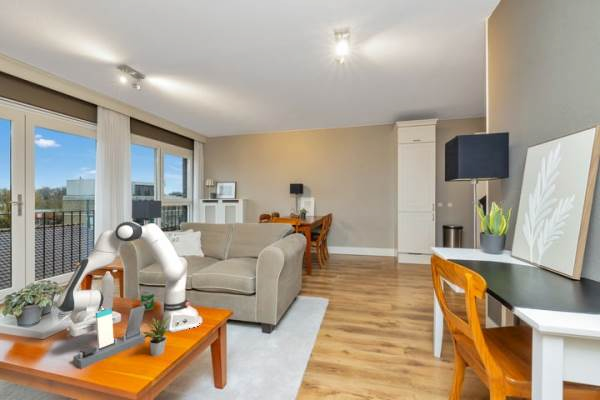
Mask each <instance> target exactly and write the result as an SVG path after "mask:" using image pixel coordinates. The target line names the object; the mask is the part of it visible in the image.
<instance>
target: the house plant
mask: <svg viewBox="0 0 600 400" xmlns="http://www.w3.org/2000/svg"><path fill="white" fill-rule="evenodd" d="M168 317H169V316H168ZM168 317H167V318H166V319H164V320H163V319H162V321H161V319H159V320H158V319H156V318H154V317H152V320H153V322H151V324H152V325H150V324H147V323H142V325H144V326H147V327H149V330H150V331H149V332H148V331H141V332H139V333H141V334H143V335H145V336H144V338H145V339H146V338H151V339H150V340H149V346H150V353H151V356H152V357H158V356H161V355H163V354H164V351H165V346H166V342H167V337H166V336H164V335H165V334H167V333H169V332H170V333H172V332H171V331H167V330H165V329H167V327H165V325H166V324H167V322H168V320H169V319H168ZM167 319H168V320H167ZM166 320H167V322H166ZM163 321H164V322H163ZM165 322H166V324H165ZM169 322H170V321H169ZM162 323H163V324H162ZM164 324H165V325H164ZM167 325H168V324H167ZM161 326H162V328H161ZM168 326H169V325H168ZM164 327H165V328H164ZM144 338H143V339H144Z"/></svg>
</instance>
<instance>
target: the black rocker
mask: <svg viewBox="0 0 600 400" xmlns="http://www.w3.org/2000/svg"><path fill="white" fill-rule="evenodd" d="M94 347H95V346H94ZM94 347H93V346H90V347H89V346H88V347H87V348H84V349H82V350H79V353H80V352H82V353H83V354H84V355H87V354H90V353H92V352H95V351H97V348H94Z"/></svg>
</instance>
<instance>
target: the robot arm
mask: <svg viewBox="0 0 600 400" xmlns="http://www.w3.org/2000/svg"><path fill="white" fill-rule="evenodd" d="M138 239H139V240H141V241H142V242H143V243H144V244H145V245H146V247H147V249H149V251H150V252H151V254H152V256H153V257H154V258H155V260H156V261H157V265H158V266H159V268H160V270H161V273H162V275H163V278H164V279H165V281H166V282H165V287H164V301H163V316H162V317H163V318H162V321H163V320H164V319H166V318H167V317H168V316H169V317H168V319H169V320H168V319H167V320H168V322H167V320H166V322H167V324H168V325H169V326H168V325H167V324H166V322H165V324H166V325H165V324H164V325H165V327H167V329H165V330H167V331H166V332H168V331H171V332H170V333H176V332H180V331H185V330H190V329H194V328H193V327H195V328H198V327H197V326H199V325H200V324H201V323H202V324H203V317H202V316H201V315H199V312H198V310H197V309H196V308H195V307H192V306H191V305H190V301H189V299H188V298H186V285H187V275H188V261H187V259H186V258H185V257H183V256H178V254H177V252H176V251H175V248H174V245H173V244H172V242H171V241H170V239H169V238H168V237H167V235H166V234H165V232H164V231H163V230H162V229H161V228H160V227H159V226H158V225H157V223H156V224H155V223H154V222H153V223H152V222H151V223H147V224H144V225H141V224H140V223H138V222H136V221H135V222H134V221H123V222H121V223H120V224H118V225H117V226H116V229H115V230H111V229H110V230H109V229H108V230H103V231H102V232H101V233H100V234H99V236H98V238H97V240H96V242H95V244H94V246H93V249H92V252H91V253H90V254H89V256H88V257H86V258H84V259H82V260H80V263H79V264H78V265H77V267H76V268H75V270H74V273H73V274H72V275H71V277H70V279H69V280H68V282H67V284H66V285H65V288H64V289H63V291H62V292H61V294H60V295H59V297H58V299H57V301H56V308H57V309H58V310H59V311H61V312H63V313H66V312H70V314H69V315H70V320H71V322H72V324H71V325H70V326H69V327H67V328H66V331H67V332H69V333H70V335H71V336H72V337H80V336H82V335H86V334H87V333H91V332H93V331H97V326H96V314H95V313H97V312H100V311H103V310H101V306H102V304H103V300H104V297H103V294H102V293H101V291H102V290H100V289H83V290H81V289H80V290H78V289H79V288H80V285H81V283H82V282H83V280H84V278H85V277H86V276H87V275H88V274H89V273H91V272H93V271H97V270H100V269H102V268H106V267H108V266H110V265H112V264H113V263H114V262H115V259H117V255H118V253H119V250H120V249H119V248H120V246H121V245H122V243H123V242H134V241H136V240H138ZM121 320H122V314H121V313H120V312H117V311H114V310H112V323H113V325H114V324H118V323H120V322H121ZM169 321H170V322H169ZM163 322H164V321H163ZM161 323H162V322H161ZM199 323H200V324H199ZM162 324H163V323H162ZM202 324H201V325H202ZM201 325H200V326H201ZM160 326H161V325H160ZM200 326H199V327H200ZM165 327H164V328H165ZM161 328H162V326H161ZM189 328H190V329H189Z"/></svg>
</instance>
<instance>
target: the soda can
mask: <svg viewBox="0 0 600 400" xmlns="http://www.w3.org/2000/svg"><path fill="white" fill-rule="evenodd" d="M154 303H155V292H154V291H153V290H150V289H149V290H144V291H142V292H141V294H140V306H143V305H144V306H145V310H144V312H149V311H151V310H153V309H154V307H155V306H154Z"/></svg>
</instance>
